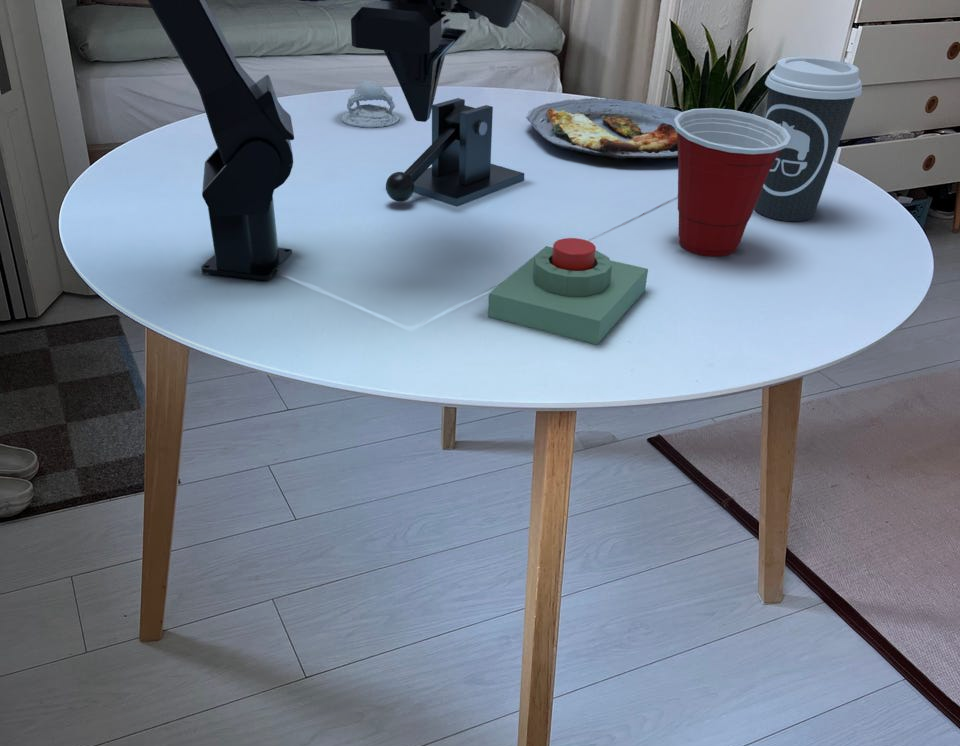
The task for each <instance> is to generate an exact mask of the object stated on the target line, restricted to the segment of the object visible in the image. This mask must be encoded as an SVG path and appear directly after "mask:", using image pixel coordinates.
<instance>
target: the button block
mask: <svg viewBox="0 0 960 746" xmlns="http://www.w3.org/2000/svg"><path fill="white" fill-rule="evenodd" d="M552 254H553V246H548V245H546V246H544V247H542V249H541V250H540V251H538V252H537V253H536V254H535V255H534V256H533V257H531V258H530V259H529V260H527V261H526V262H525V263H523V265H521V266H520V267H519V268H518V269H517V270H515V271H514V272H513V273H512V274H510V275H509V276H508V277H507V278H506V279H505V280H503V281H502V282H501V283H499V284H498V285H497V286H496V287H494V289H492V290H491V291H490V292H488V305H487V306H488V308H487V317H488V318H492V319H496V320H500V321H504V322H507V323H511V324H514V325H518V326H522V327H527V328H530V329H535V330H539V331H542V332H545V333H550V334H554V335H558V336H561V337H565V338H570V339H573V340H577V341H581V342H585V343H588V344H592V345H597V346H598V345H599V344H600V343H601V341H602V340H603V339H604V338H606V336H607V335H608V333H609V332H610V331H611V330H612V329H613V328H614V327H615V326H616V324H617V323H618V322H619V321H620V320H621V319H622V318H623V316H624V315H626V313H627V312H628V311H629V310H630V309H631V308H632V306H634V304H635V303H636V302H637V301H638V300H639V299H640V297H641V296H642V295H643V294H644V293H645V292H646V286H647V280H648V273H649V269H648V268H646V267H642V266H637V265H634V264H628V263H624V262H620V261H615V260H611V259H610V257H609V256H607V255H606V254H604V253H602V252H600V251H598V250H596V251H595V260H594V267H593V269H589V270H585V271H568V270H564V269H560V268H557V267H555V266H554V265H552Z"/></svg>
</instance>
